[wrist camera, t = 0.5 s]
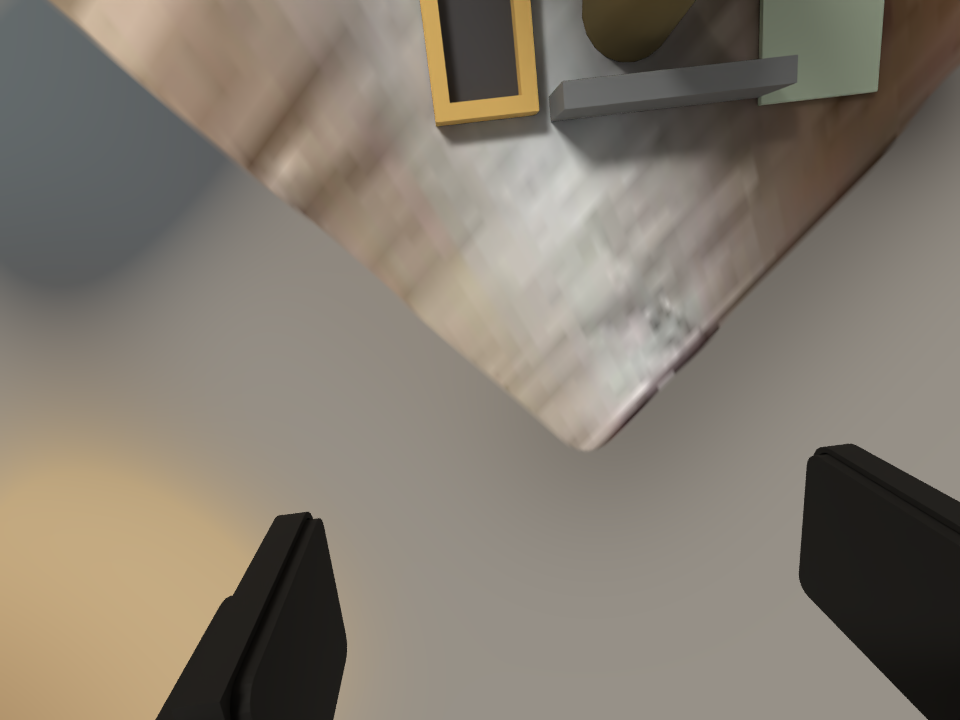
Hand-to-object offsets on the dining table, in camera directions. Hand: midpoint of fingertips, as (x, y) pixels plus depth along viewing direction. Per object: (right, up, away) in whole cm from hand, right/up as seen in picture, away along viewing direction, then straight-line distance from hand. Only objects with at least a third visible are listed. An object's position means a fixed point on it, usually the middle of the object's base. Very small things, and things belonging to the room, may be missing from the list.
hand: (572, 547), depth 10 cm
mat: (+20, +26, +24) cm, 41 cm away
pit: (-2, +24, +23) cm, 33 cm away
